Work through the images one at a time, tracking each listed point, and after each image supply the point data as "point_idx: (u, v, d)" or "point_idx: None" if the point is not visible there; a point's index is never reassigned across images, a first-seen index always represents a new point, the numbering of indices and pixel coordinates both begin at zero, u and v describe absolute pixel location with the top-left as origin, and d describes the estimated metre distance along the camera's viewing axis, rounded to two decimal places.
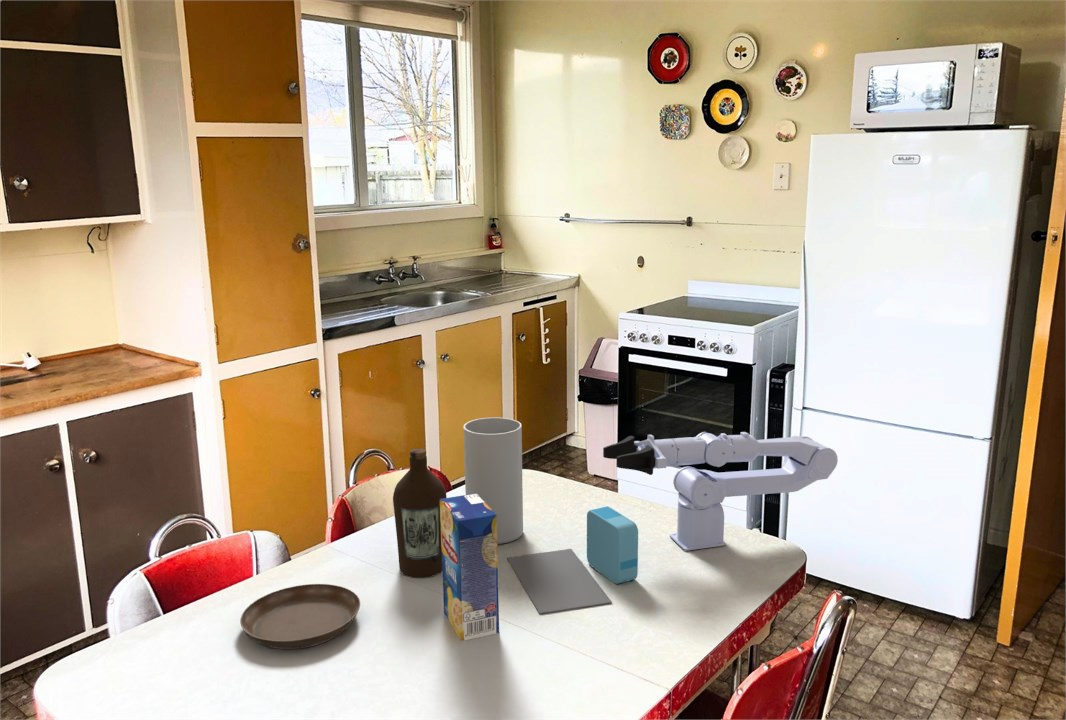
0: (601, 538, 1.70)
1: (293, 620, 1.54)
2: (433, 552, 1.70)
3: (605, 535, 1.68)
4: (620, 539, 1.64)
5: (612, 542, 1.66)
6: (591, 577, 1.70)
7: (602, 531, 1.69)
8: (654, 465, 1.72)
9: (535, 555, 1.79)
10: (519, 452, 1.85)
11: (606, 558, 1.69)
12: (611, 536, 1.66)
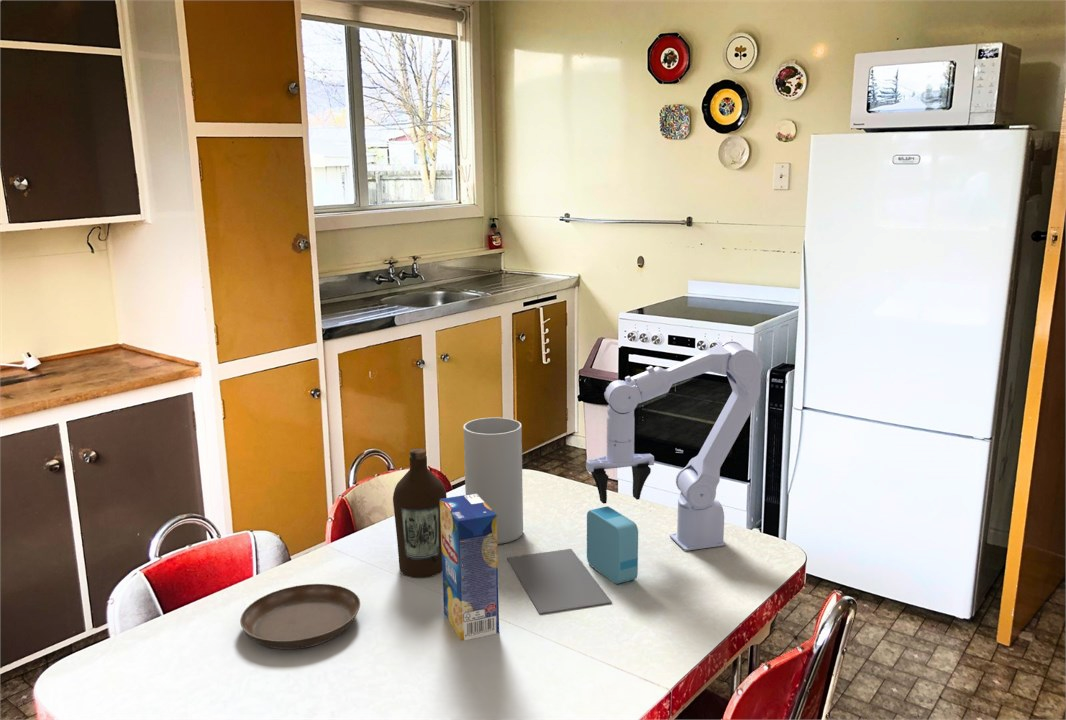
0: (601, 538, 1.70)
1: (293, 620, 1.54)
2: (433, 552, 1.70)
3: (605, 535, 1.68)
4: (620, 539, 1.64)
5: (612, 542, 1.66)
6: (591, 577, 1.70)
7: (602, 531, 1.69)
8: (593, 471, 1.78)
9: (535, 555, 1.79)
10: (519, 452, 1.85)
11: (606, 558, 1.69)
12: (611, 536, 1.66)
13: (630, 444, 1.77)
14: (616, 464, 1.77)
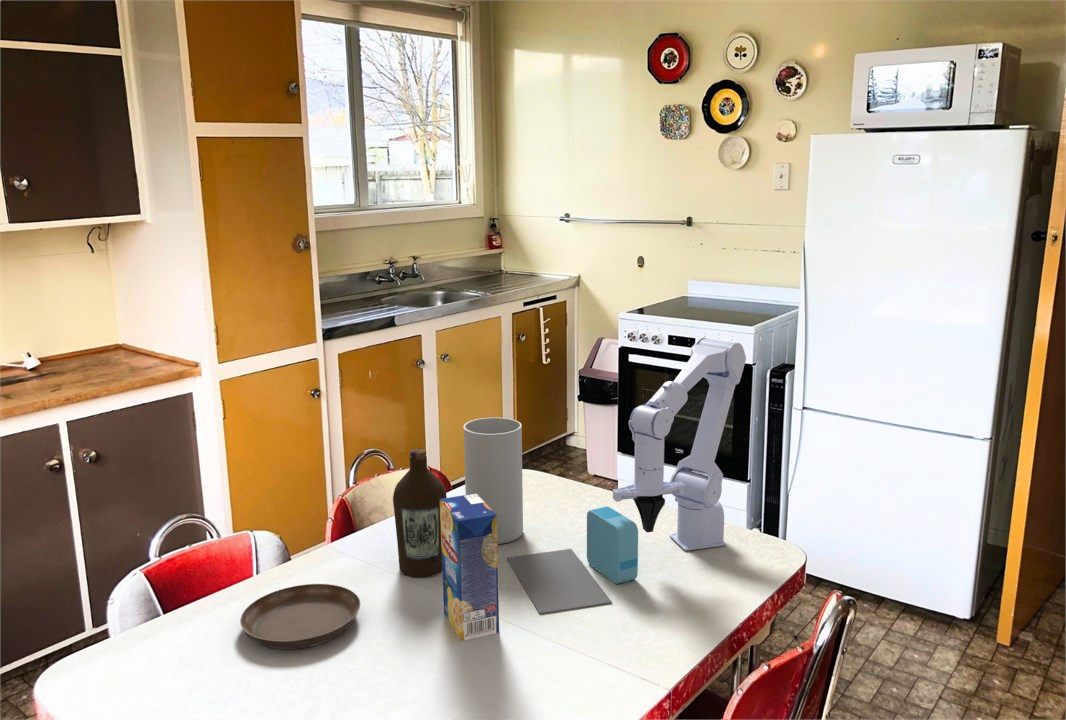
0: (601, 538, 1.70)
1: (293, 620, 1.54)
2: (433, 552, 1.70)
3: (605, 535, 1.68)
4: (620, 539, 1.64)
5: (612, 542, 1.66)
6: (591, 577, 1.70)
7: (602, 531, 1.69)
8: None
9: (535, 555, 1.79)
10: (519, 452, 1.85)
11: (606, 558, 1.69)
12: (611, 536, 1.66)
13: (659, 472, 1.68)
14: (645, 493, 1.68)
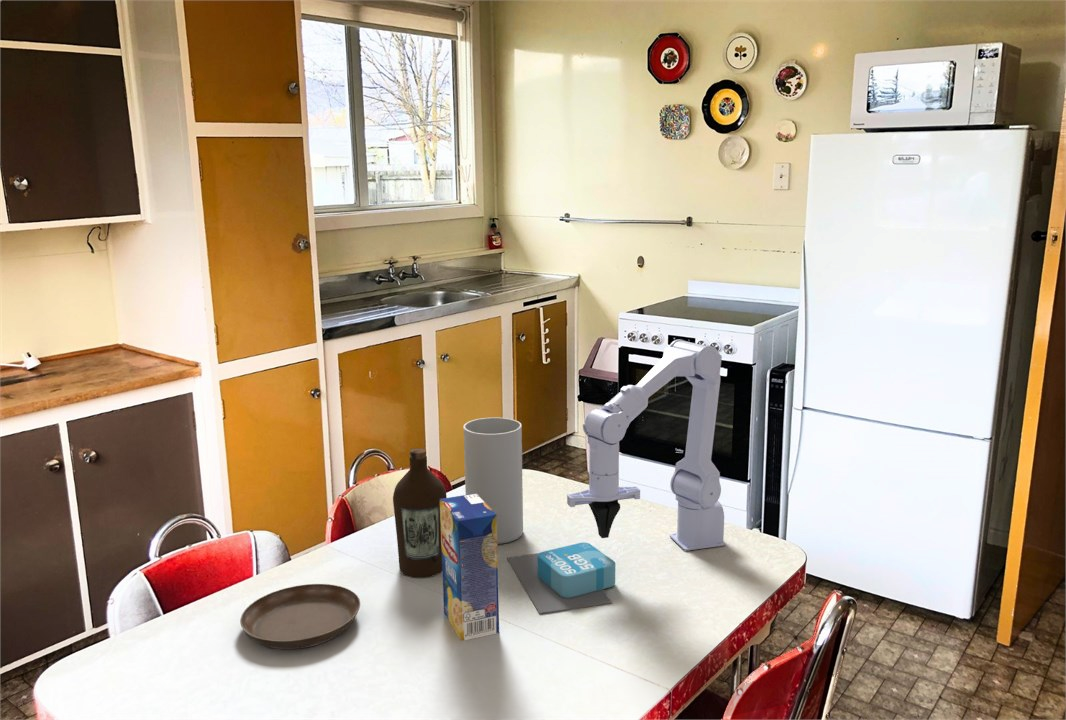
0: None
1: (293, 620, 1.54)
2: (433, 552, 1.70)
3: None
4: (574, 596, 1.62)
5: None
6: None
7: None
8: None
9: (535, 555, 1.79)
10: (519, 452, 1.85)
11: None
12: None
13: (614, 477, 1.65)
14: (599, 499, 1.65)
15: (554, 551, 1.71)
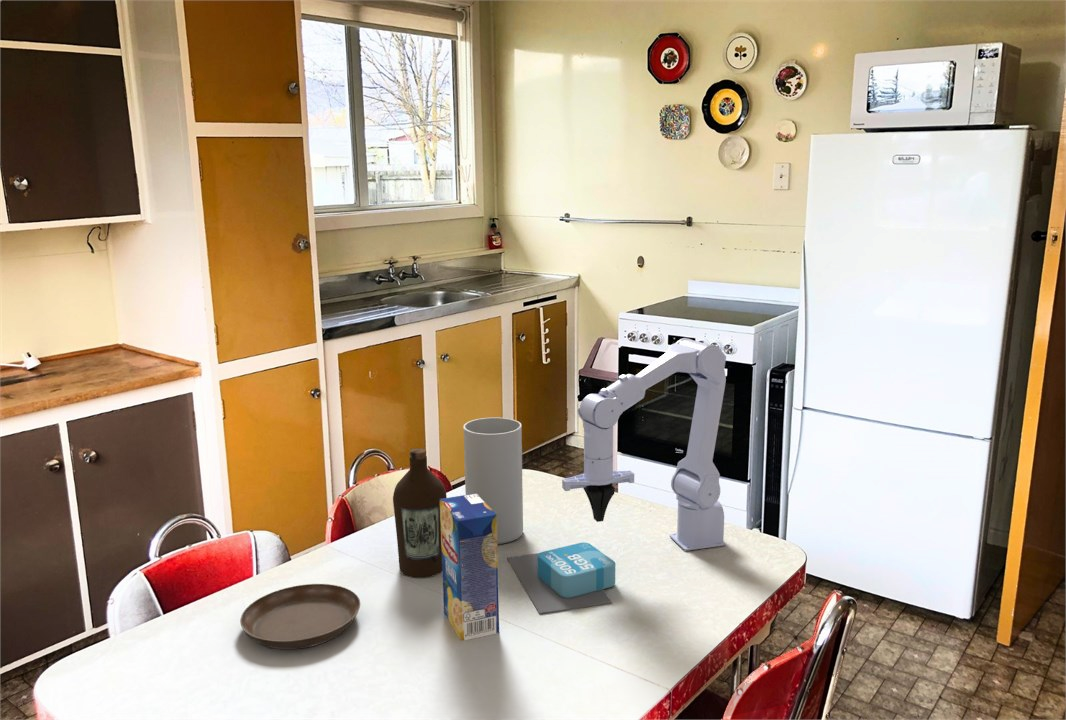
0: None
1: (293, 620, 1.54)
2: (433, 552, 1.70)
3: None
4: (574, 596, 1.62)
5: None
6: None
7: None
8: None
9: (535, 555, 1.79)
10: (519, 452, 1.85)
11: None
12: None
13: (608, 461, 1.67)
14: (594, 482, 1.67)
15: (554, 551, 1.71)
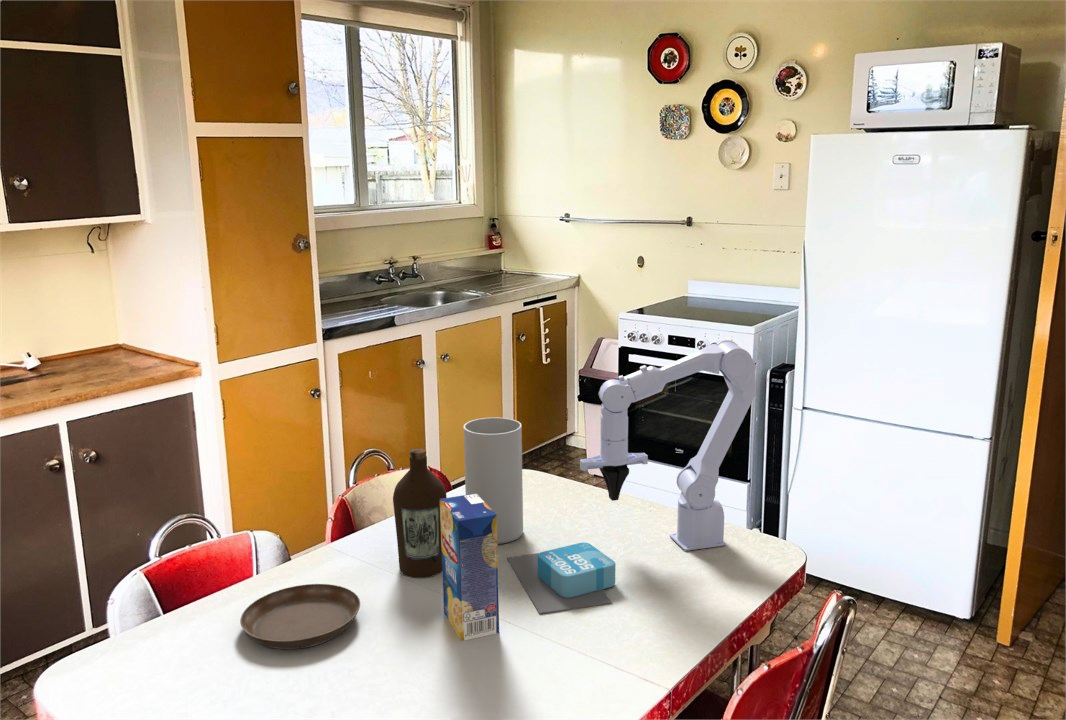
0: None
1: (293, 620, 1.54)
2: (433, 552, 1.70)
3: None
4: (574, 596, 1.62)
5: None
6: None
7: None
8: None
9: (535, 555, 1.79)
10: (519, 452, 1.85)
11: None
12: None
13: (623, 443, 1.78)
14: (610, 463, 1.78)
15: (554, 551, 1.71)
